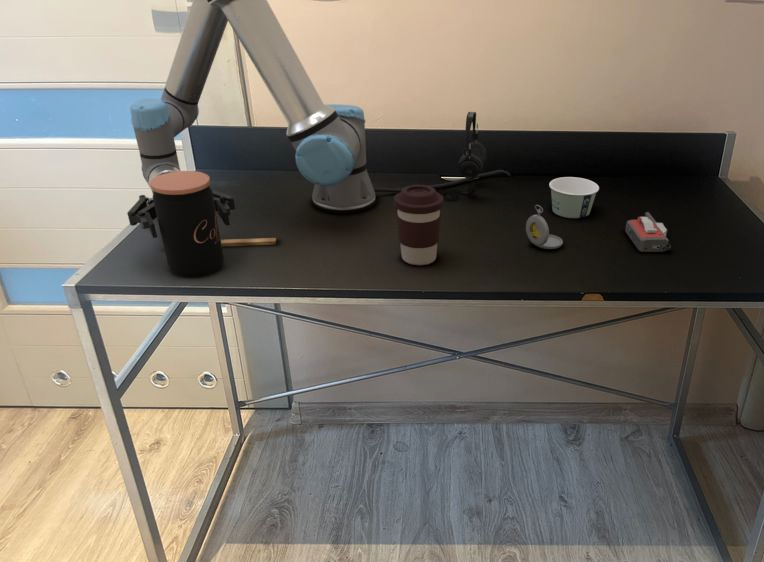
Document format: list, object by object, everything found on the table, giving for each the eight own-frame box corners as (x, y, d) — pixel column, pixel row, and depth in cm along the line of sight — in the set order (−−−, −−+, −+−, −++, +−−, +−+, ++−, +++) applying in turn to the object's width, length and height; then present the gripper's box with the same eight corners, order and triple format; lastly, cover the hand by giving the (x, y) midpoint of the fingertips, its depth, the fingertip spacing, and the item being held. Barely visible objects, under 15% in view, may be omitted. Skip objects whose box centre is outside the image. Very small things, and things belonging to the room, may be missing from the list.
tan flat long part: (276, 239, 153) (276, 236, 152) (275, 246, 150) (275, 242, 150) (170, 243, 149) (170, 240, 149) (167, 250, 147) (167, 246, 146)
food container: (537, 205, 174) (539, 180, 171) (577, 199, 179) (580, 174, 175) (564, 223, 166) (567, 197, 162) (605, 216, 170) (609, 190, 167)
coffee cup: (424, 273, 142) (424, 203, 133) (385, 260, 146) (383, 191, 138) (451, 256, 149) (453, 188, 141) (413, 244, 153) (412, 178, 145)
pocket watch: (565, 241, 157) (570, 198, 152) (556, 256, 150) (561, 212, 145) (530, 235, 159) (533, 193, 154) (520, 249, 153) (523, 206, 147)
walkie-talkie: (678, 254, 153) (649, 218, 170) (682, 235, 151) (653, 201, 167) (640, 255, 152) (614, 218, 169) (643, 236, 150) (617, 201, 167)
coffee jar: (207, 281, 136) (190, 192, 126) (157, 274, 137) (137, 186, 128) (234, 258, 144) (220, 173, 135) (187, 252, 146) (170, 168, 136)
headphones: (444, 179, 188) (446, 103, 177) (486, 183, 187) (490, 106, 176) (435, 200, 175) (435, 119, 164) (479, 204, 174) (483, 122, 163)
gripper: (232, 196, 156) (258, 231, 141) (111, 214, 146) (125, 255, 130) (227, 163, 152) (253, 196, 137) (102, 179, 141) (115, 217, 126)
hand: (191, 225), depth 133 cm, fingers open, 13 cm apart
